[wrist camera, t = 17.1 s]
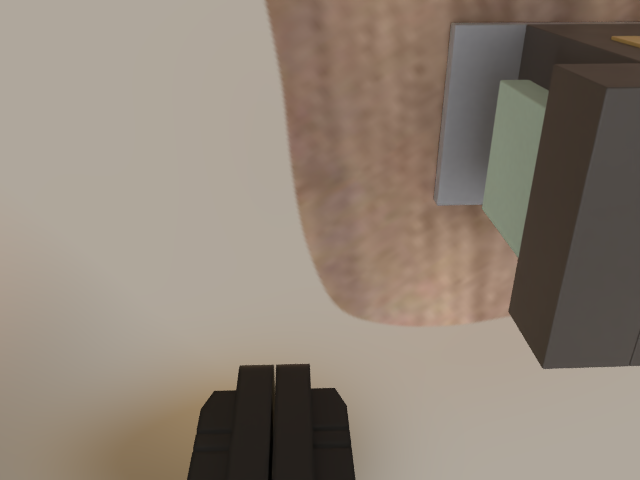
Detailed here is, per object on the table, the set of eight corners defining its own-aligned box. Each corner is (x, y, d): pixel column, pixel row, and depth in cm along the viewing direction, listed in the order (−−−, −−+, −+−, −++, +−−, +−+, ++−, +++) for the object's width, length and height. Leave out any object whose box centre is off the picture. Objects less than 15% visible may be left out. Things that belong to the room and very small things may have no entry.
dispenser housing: (433, 199, 37) (530, 369, 22) (451, 19, 32) (592, 82, 17) (603, 196, 38) (810, 361, 23) (647, 18, 33) (952, 79, 18)
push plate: (481, 208, 31) (524, 268, 25) (499, 79, 28) (553, 113, 22) (508, 208, 31) (557, 267, 26) (529, 79, 28) (591, 113, 22)
